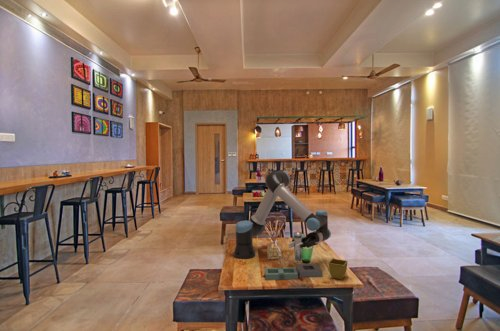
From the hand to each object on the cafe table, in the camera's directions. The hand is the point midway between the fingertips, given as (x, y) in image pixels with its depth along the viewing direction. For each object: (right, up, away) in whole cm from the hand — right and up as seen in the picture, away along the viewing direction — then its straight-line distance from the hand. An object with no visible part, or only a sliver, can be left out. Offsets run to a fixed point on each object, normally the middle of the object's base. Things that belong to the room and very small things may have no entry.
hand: (292, 246), depth 170 cm
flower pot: (+26, -18, 0) cm, 31 cm away
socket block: (+11, -17, +7) cm, 22 cm away
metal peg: (+4, -9, +4) cm, 10 cm away
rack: (-6, -18, +3) cm, 19 cm away
